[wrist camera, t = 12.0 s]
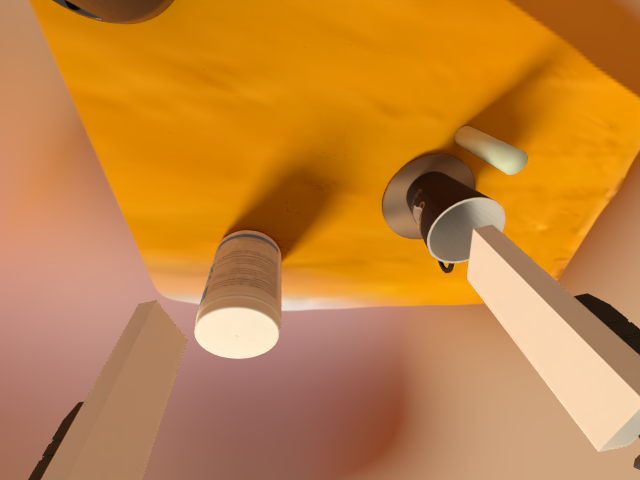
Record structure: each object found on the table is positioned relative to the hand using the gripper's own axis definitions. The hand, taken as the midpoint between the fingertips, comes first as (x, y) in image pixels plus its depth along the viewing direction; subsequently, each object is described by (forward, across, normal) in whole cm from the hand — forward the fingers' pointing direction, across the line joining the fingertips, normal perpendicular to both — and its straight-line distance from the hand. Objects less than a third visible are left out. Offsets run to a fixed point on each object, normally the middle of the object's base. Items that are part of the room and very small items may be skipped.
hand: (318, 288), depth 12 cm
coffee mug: (+26, +15, -14) cm, 33 cm away
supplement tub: (+27, -12, -16) cm, 33 cm away
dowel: (+27, +20, -6) cm, 34 cm away
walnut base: (+27, +16, -14) cm, 34 cm away
